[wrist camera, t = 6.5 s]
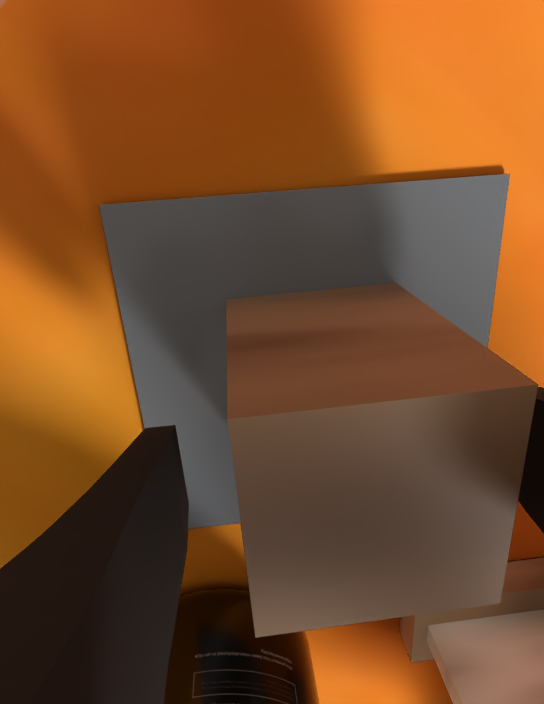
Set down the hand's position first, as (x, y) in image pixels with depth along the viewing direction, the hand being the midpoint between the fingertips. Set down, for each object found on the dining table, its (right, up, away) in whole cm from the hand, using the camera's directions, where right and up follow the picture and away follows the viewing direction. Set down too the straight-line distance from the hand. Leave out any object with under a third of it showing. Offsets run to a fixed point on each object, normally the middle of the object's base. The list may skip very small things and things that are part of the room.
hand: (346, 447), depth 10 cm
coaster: (0, +1, +3) cm, 4 cm away
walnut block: (0, +2, +3) cm, 4 cm away
